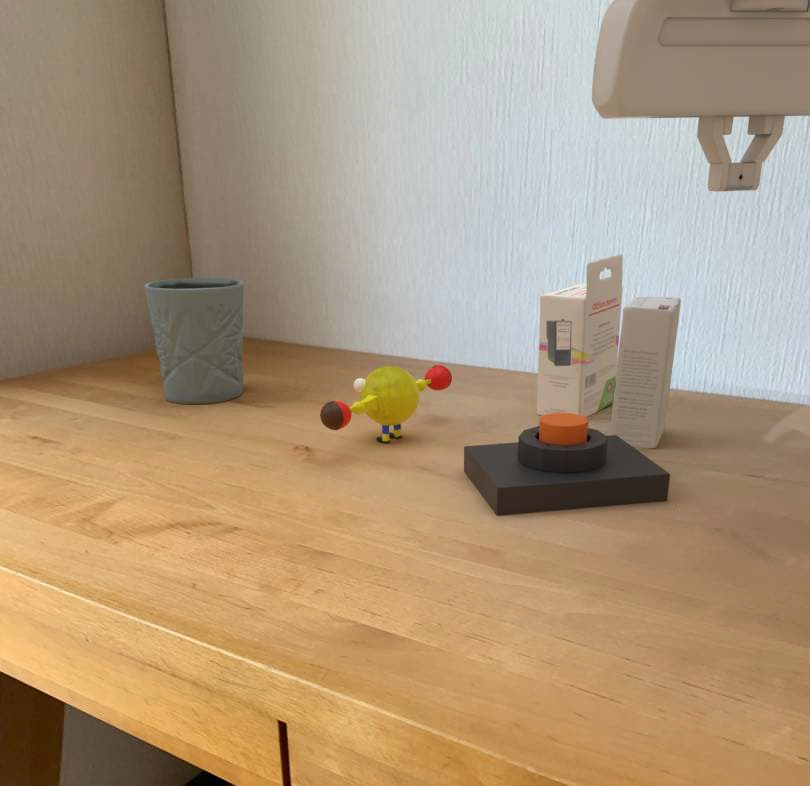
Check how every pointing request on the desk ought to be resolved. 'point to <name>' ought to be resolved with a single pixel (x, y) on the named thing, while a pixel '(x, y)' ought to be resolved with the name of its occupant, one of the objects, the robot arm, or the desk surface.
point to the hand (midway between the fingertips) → (732, 190)
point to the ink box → (580, 343)
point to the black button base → (563, 474)
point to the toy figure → (386, 399)
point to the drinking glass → (198, 337)
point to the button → (563, 429)
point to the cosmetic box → (644, 370)
